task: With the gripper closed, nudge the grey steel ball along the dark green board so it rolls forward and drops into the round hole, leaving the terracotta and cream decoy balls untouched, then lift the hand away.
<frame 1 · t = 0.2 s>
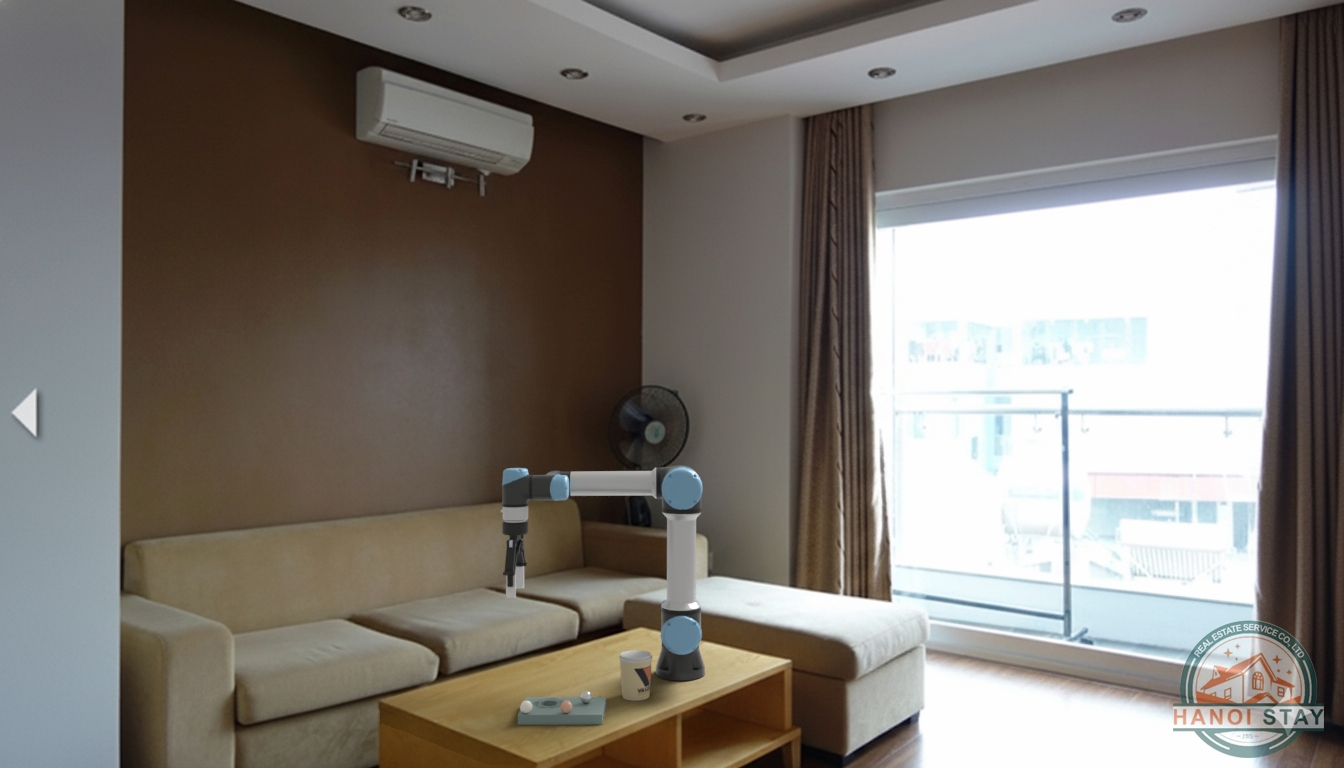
hand: (515, 593, 281), 28 cm above the table, fingers open, 13 cm apart
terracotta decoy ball: (566, 706, 251), point 4 cm above the table, touching board
coffee cup: (635, 697, 273), on the table
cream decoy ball: (526, 706, 251), point 4 cm above the table, touching board
board: (563, 715, 257), on the table
steel ball: (586, 697, 259), point 4 cm above the table, touching board
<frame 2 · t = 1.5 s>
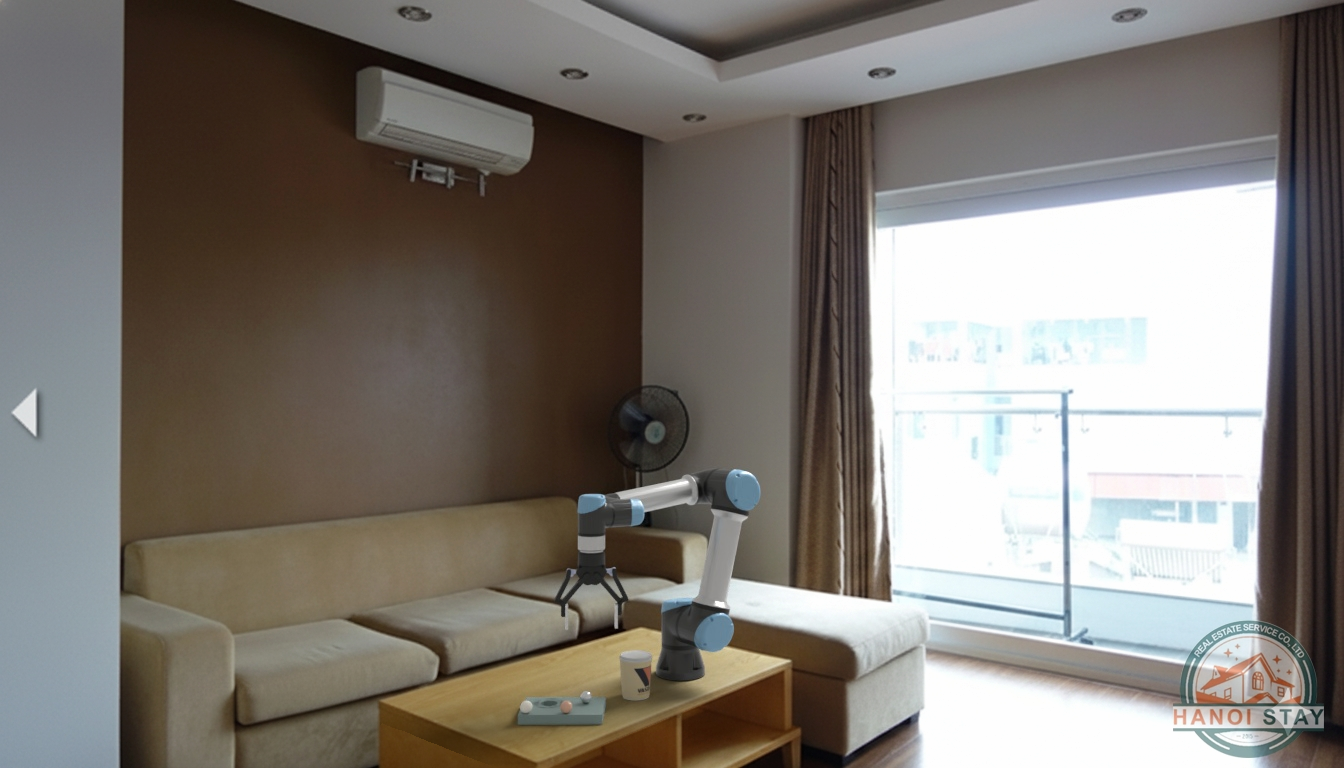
hand: (591, 628, 263), 22 cm above the table, fingers open, 13 cm apart
nothing on the table moved.
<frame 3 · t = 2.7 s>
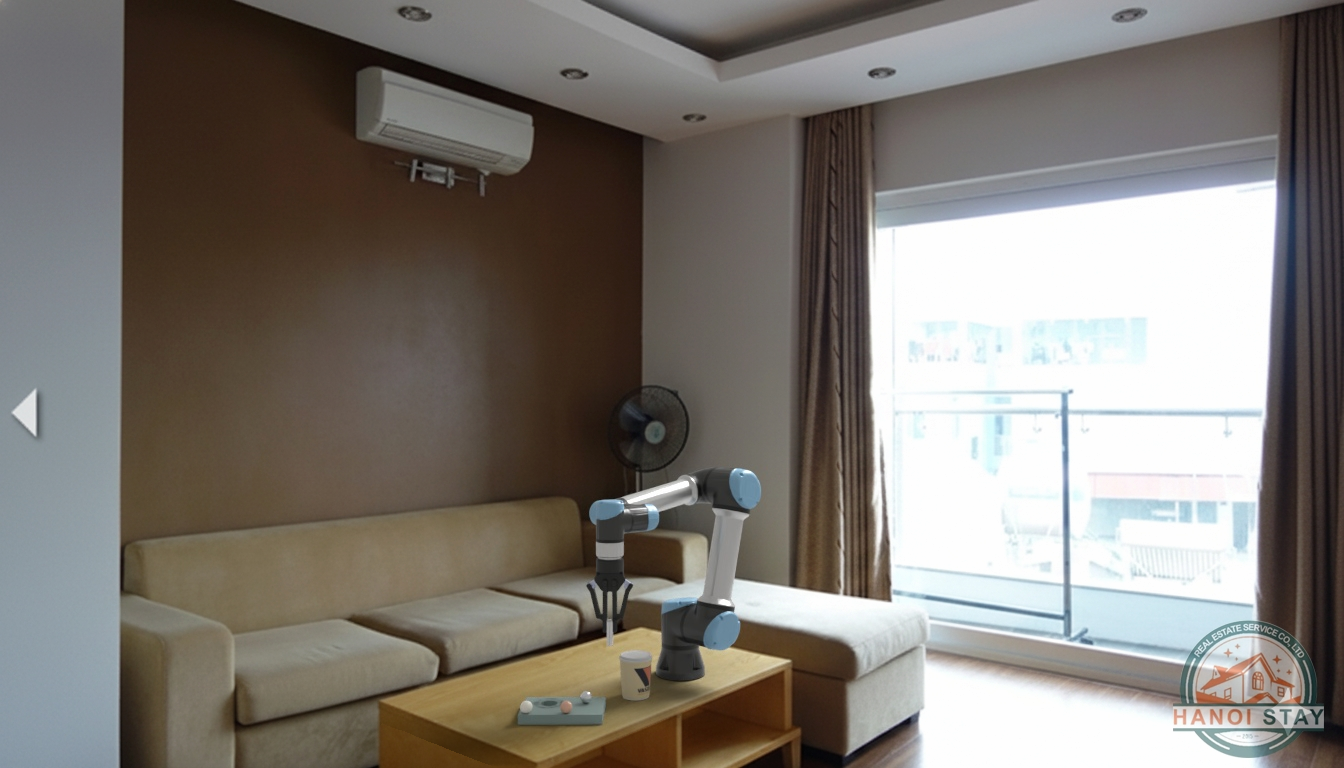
hand: (609, 644, 259), 18 cm above the table, fingers closed
nothing on the table moved.
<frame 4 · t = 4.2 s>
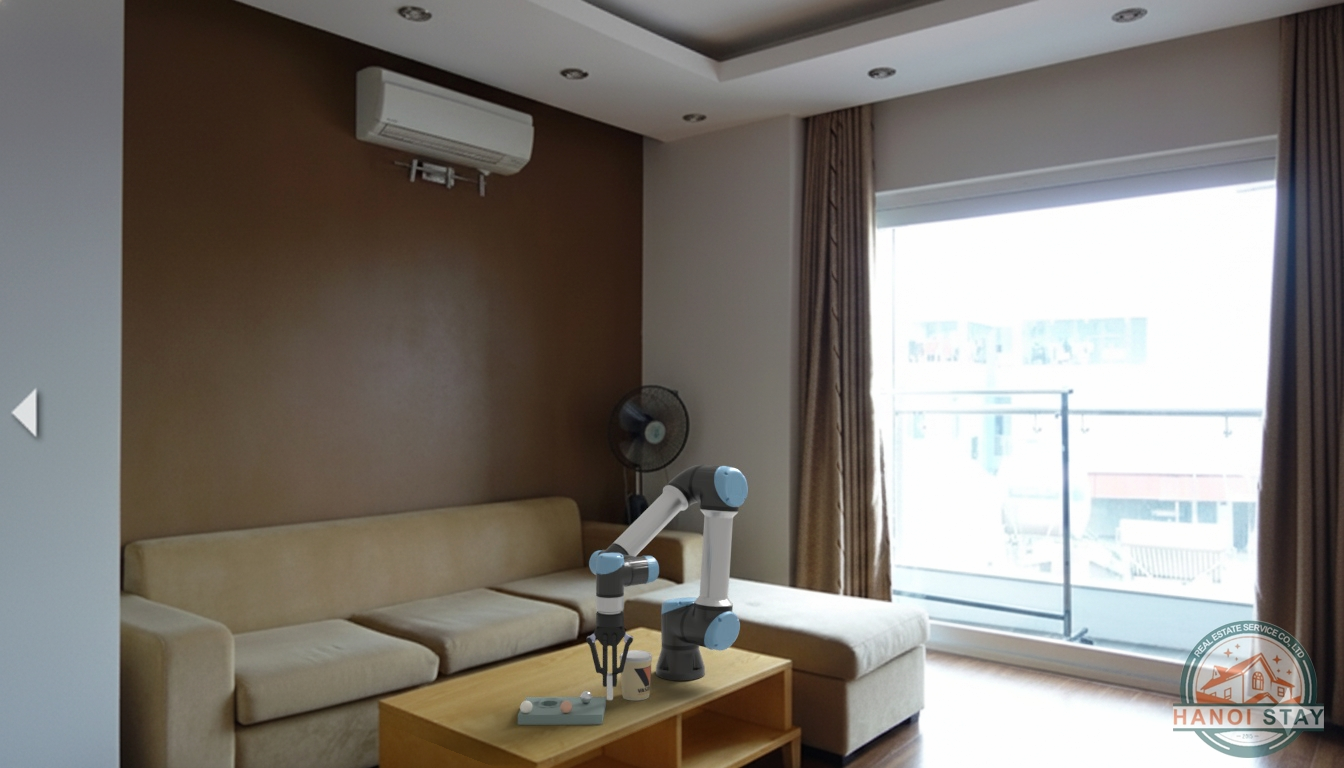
hand: (609, 698, 259), 4 cm above the table, fingers closed
nothing on the table moved.
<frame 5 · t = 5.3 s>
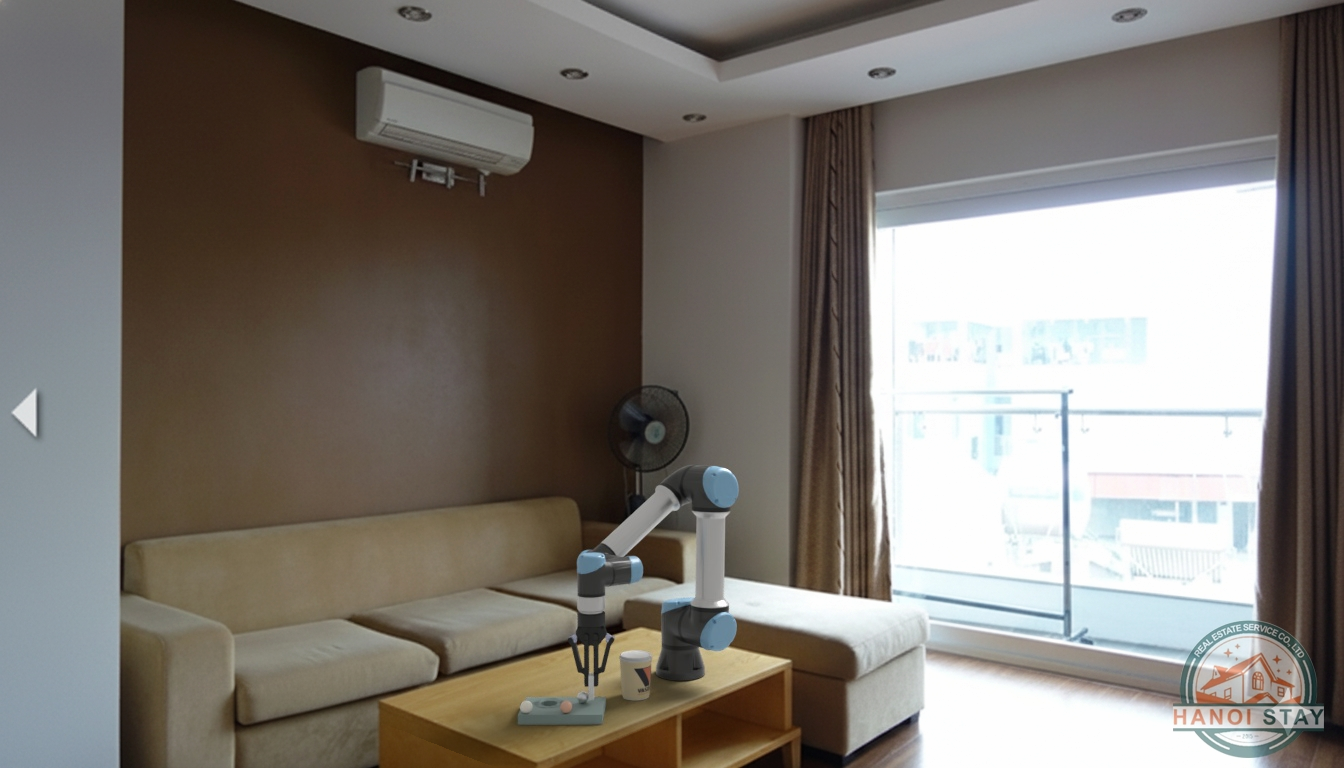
hand: (591, 698, 258), 4 cm above the table, fingers closed
steel ball: (583, 697, 259), point 4 cm above the table, tilted 27°, touching board, gripper
everything else where it was.
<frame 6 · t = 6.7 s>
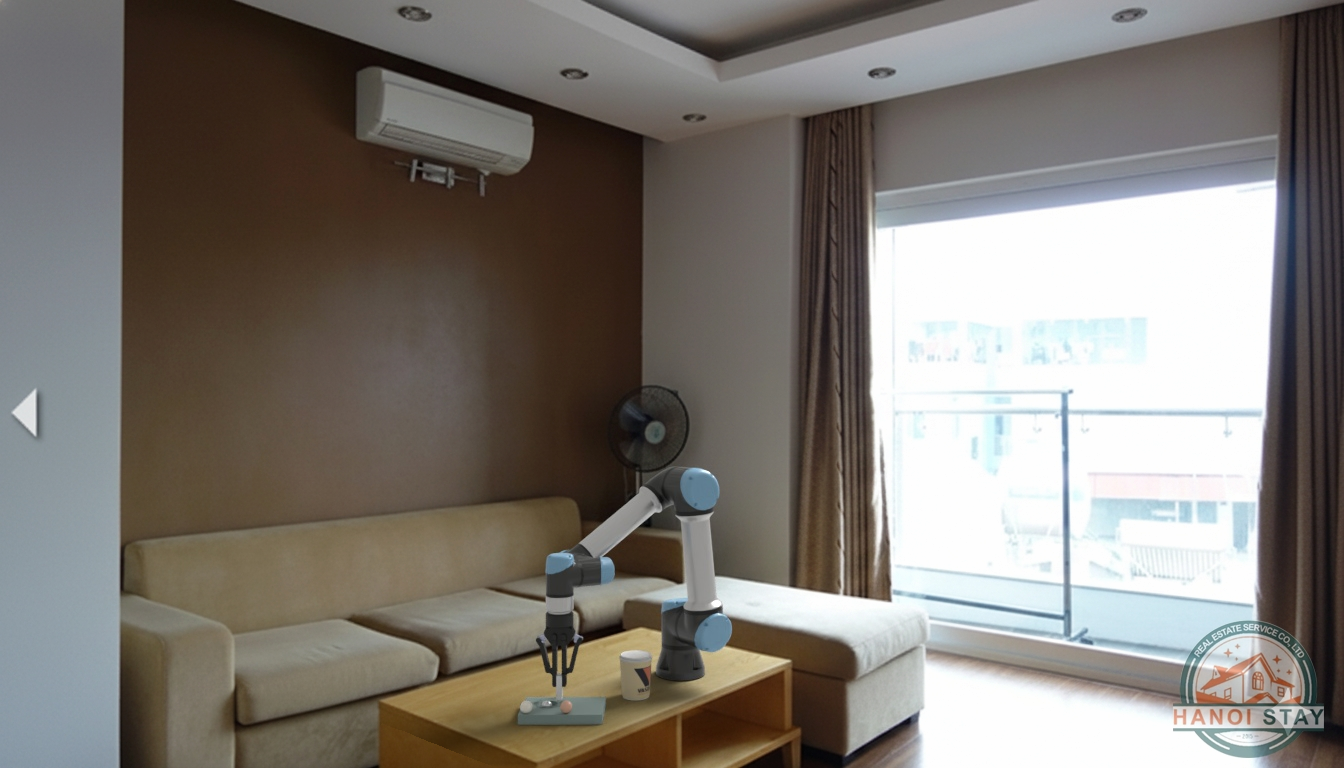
hand: (559, 698, 259), 4 cm above the table, fingers closed
steel ball: (546, 706, 258), point 2 cm above the table, tilted 46°
everything else where it was.
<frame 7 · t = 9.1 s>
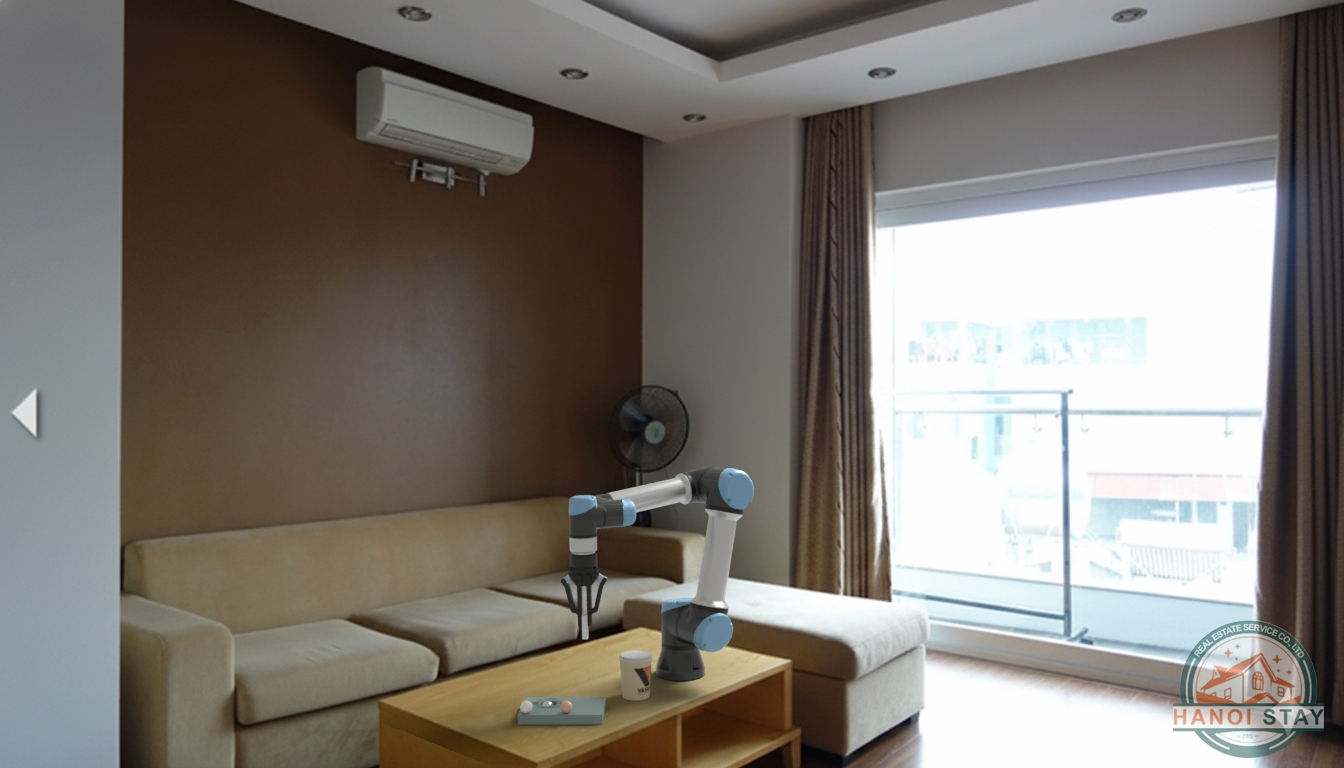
hand: (585, 638, 262), 19 cm above the table, fingers closed
steel ball: (547, 706, 258), point 2 cm above the table, tilted 40°
everything else where it was.
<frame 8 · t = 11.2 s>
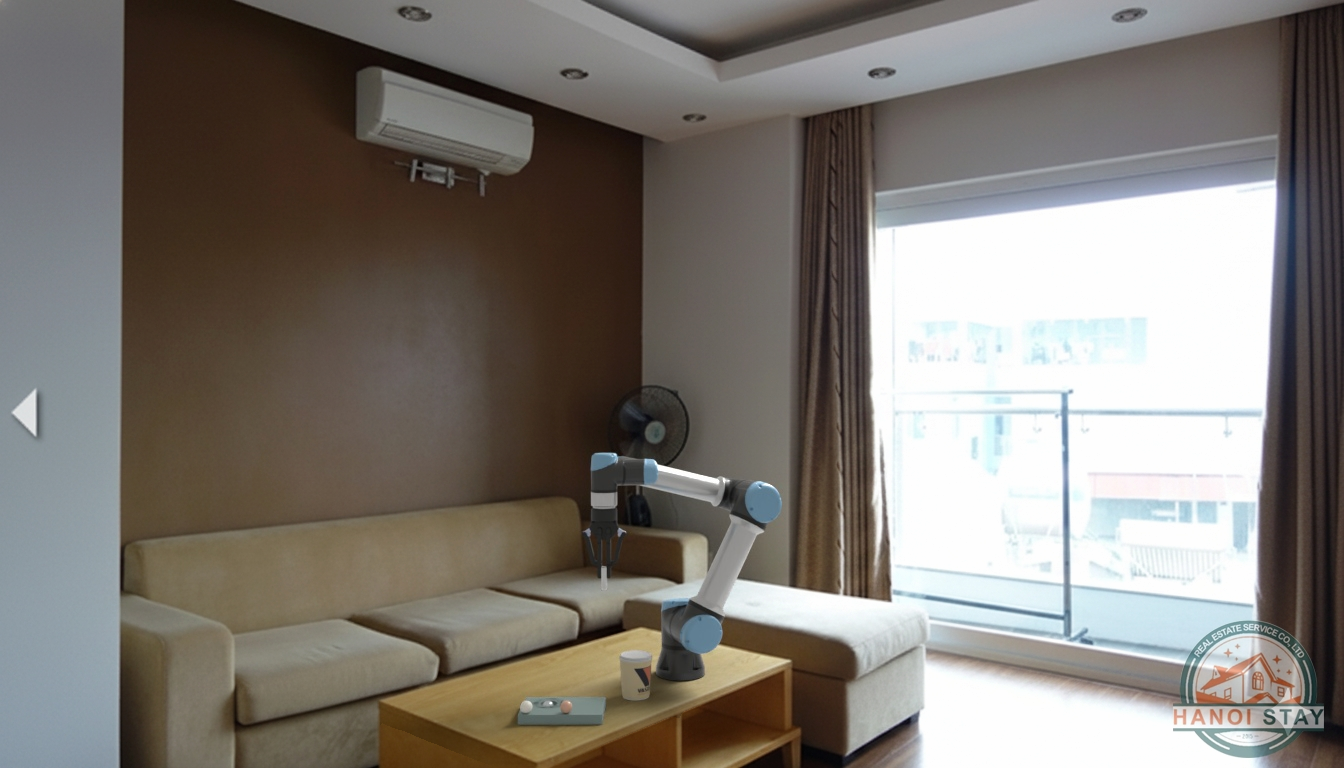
hand: (604, 589, 273), 30 cm above the table, fingers closed
steel ball: (547, 706, 258), point 2 cm above the table, tilted 35°
everything else where it was.
at the end: steel ball 0.3 cm from the target spot in the board, point 1.6 cm above the board's base; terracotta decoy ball moved 0.0 cm from its start; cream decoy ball moved 0.0 cm from its start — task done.
